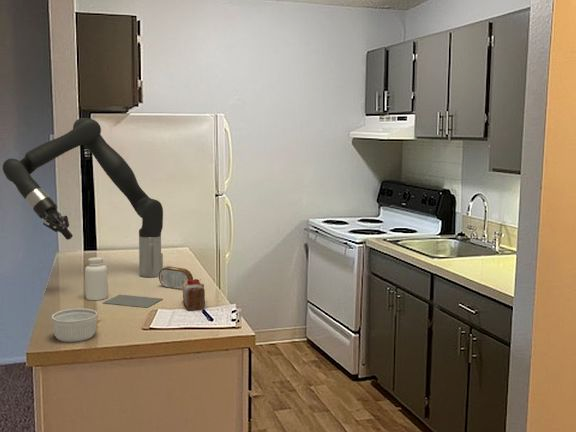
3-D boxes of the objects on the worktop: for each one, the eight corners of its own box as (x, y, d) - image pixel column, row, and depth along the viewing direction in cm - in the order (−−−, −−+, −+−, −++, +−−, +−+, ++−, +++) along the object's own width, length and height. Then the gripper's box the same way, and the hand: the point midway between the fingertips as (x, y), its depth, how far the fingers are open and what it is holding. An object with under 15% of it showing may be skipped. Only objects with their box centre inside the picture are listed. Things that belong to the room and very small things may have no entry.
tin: (193, 289, 250) (193, 269, 249) (189, 291, 247) (189, 270, 246) (162, 285, 256) (162, 265, 255) (157, 287, 254) (157, 266, 252)
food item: (180, 301, 233) (180, 275, 232) (202, 300, 236) (202, 274, 234) (185, 311, 220) (185, 284, 219) (208, 310, 223) (208, 282, 221)
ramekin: (71, 346, 184) (71, 323, 183) (42, 338, 190) (41, 315, 190) (107, 334, 195) (106, 312, 194) (78, 327, 202) (77, 305, 201)
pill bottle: (88, 295, 239) (87, 256, 237) (109, 295, 240) (109, 256, 238) (83, 300, 231) (82, 260, 229) (105, 300, 232) (104, 260, 230)
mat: (102, 303, 228) (102, 302, 228) (119, 295, 240) (119, 294, 240) (147, 308, 224) (147, 307, 224) (162, 299, 235) (162, 298, 235)
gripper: (36, 198, 229) (66, 234, 228) (57, 195, 242) (86, 229, 241) (23, 211, 231) (53, 247, 230) (45, 208, 244) (74, 241, 243)
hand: (70, 238), depth 235 cm, fingers closed
